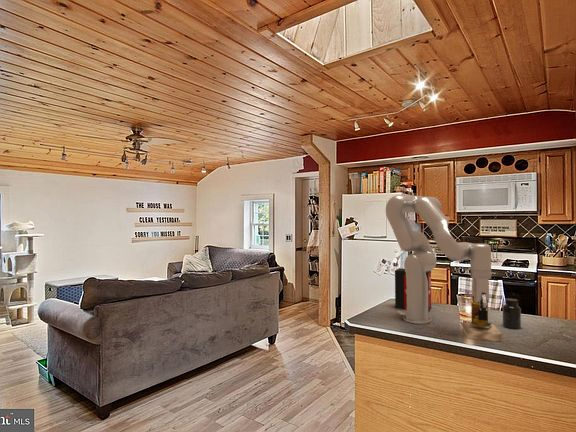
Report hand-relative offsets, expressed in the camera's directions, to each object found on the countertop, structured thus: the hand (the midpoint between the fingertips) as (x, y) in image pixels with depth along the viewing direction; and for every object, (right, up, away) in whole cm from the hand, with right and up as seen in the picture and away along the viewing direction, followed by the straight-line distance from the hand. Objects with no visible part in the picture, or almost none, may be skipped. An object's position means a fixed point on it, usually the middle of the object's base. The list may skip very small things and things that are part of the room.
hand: (481, 317), depth 150 cm
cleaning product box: (-13, -7, +43) cm, 45 cm away
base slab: (0, -7, 0) cm, 7 cm away
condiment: (0, -3, +1) cm, 3 cm away
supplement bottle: (+19, -7, +10) cm, 23 cm away
